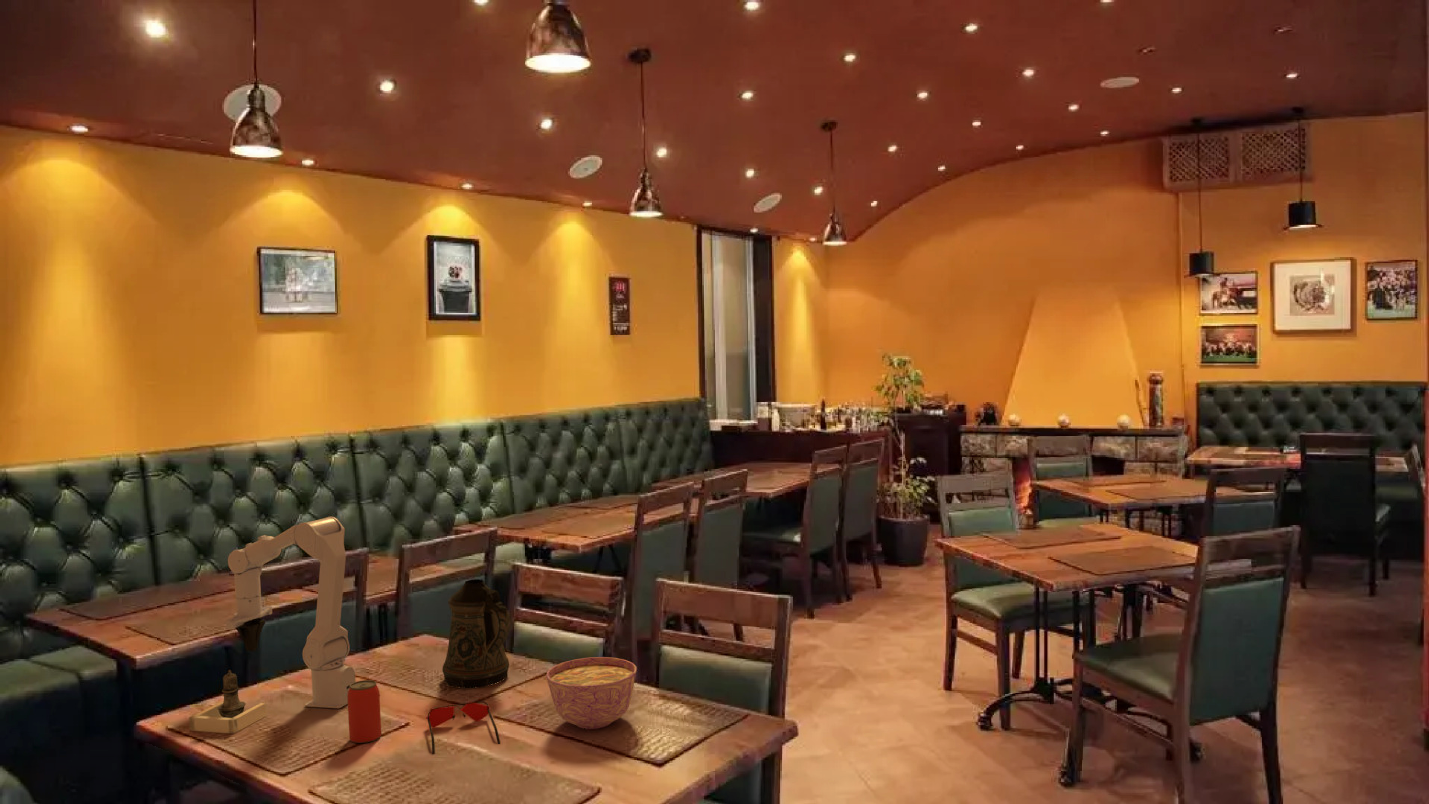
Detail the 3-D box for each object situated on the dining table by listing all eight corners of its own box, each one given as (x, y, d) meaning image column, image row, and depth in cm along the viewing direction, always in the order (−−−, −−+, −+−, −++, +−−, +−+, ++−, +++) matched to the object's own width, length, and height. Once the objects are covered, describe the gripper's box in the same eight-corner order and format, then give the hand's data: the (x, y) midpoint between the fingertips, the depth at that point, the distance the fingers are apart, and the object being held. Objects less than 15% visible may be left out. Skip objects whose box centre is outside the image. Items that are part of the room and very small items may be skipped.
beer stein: (458, 667, 268) (453, 573, 267) (529, 668, 266) (525, 573, 264) (432, 688, 252) (427, 588, 251) (507, 690, 249) (503, 589, 248)
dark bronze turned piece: (235, 726, 230) (232, 674, 230) (212, 725, 231) (209, 673, 231) (252, 717, 236) (249, 666, 235) (229, 716, 237) (226, 665, 236)
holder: (266, 715, 236) (265, 703, 236) (233, 733, 226) (233, 720, 226) (224, 713, 239) (223, 700, 239) (190, 730, 229) (189, 717, 228)
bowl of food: (657, 719, 227) (655, 668, 226) (588, 747, 212) (585, 692, 212) (598, 699, 240) (596, 651, 240) (529, 724, 226) (527, 673, 225)
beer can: (352, 746, 216) (349, 691, 216) (347, 736, 222) (344, 682, 221) (384, 740, 219) (381, 685, 219) (378, 730, 225) (376, 677, 225)
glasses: (490, 719, 231) (489, 697, 231) (500, 745, 216) (499, 722, 215) (426, 728, 226) (425, 706, 226) (432, 756, 211) (431, 732, 211)
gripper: (254, 588, 261) (257, 641, 261) (213, 603, 247) (217, 658, 247) (278, 589, 259) (281, 642, 260) (238, 604, 245) (242, 659, 246)
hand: (251, 650), depth 253 cm, fingers closed
